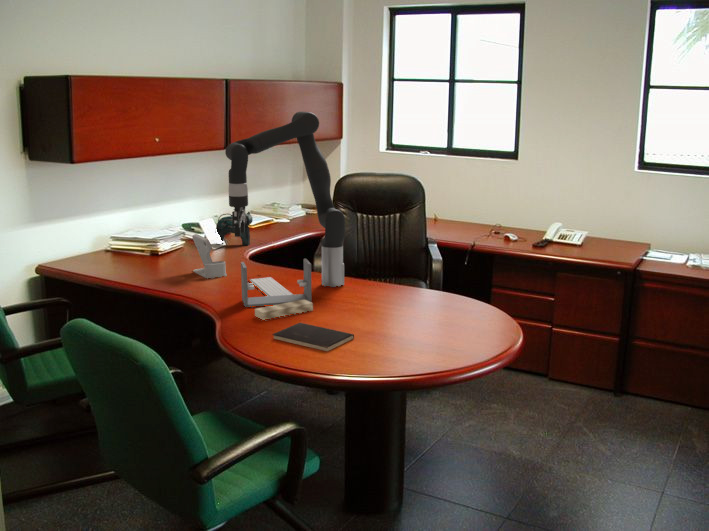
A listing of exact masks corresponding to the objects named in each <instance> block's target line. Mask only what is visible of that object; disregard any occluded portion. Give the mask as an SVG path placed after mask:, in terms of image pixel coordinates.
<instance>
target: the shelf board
mask: <svg viewBox="0 0 709 531" xmlns="http://www.w3.org/2000/svg"><path fill="white" fill-rule="evenodd" d="M307 311H309V312H313V311H314V303H313V302H310V301H307V300H305V299H304V300H299V301H294V302H288V303H283V304H278V305H273V306H265V307H256V308H254V317H255V316H256V317H258V318H260V319H262V320H265V319H270V320H272V319H271V318H274V319H276V318H275V317H279V318H281V317H280V316H284V317H286V316H285V315H289V316H291V315H290V314H294V315H297V314H296V313H299V314H302V312H304V313H308V312H307ZM256 317H255V318H256ZM258 318H257V319H258ZM260 319H259V320H260ZM262 320H261V321H262ZM265 321H266V320H265Z"/></svg>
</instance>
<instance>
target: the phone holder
mask: <svg viewBox="0 0 709 531" xmlns="http://www.w3.org/2000/svg"><path fill="white" fill-rule="evenodd" d="M191 236H192V237H191V238H192V240H193V242H194V245H195V247H196V249H197V252H198V255H199V257H200V259H201V261H202V264H203V266H204V267H203V268H202V267H201V268H196V269H193V273H195V274H196V275H199V276H201V277H202V278H204V279H206V278H207V280H208V278H211V279H216V278H215V277H218V278H222V276H224V277H227V275H228V274H227V272H226V271H227V270H226V269H227V268H226V261H225V260H216V261H213V259H212V257H211V251H212V248H213V247H212V244H211V242H210V240H209V239H208V238H207V237H204V236H201V235H199V234H197V233H195V234H193V235H191Z"/></svg>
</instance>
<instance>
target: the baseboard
mask: <svg viewBox="0 0 709 531" xmlns="http://www.w3.org/2000/svg"><path fill="white" fill-rule="evenodd" d="M257 277H258V278H256V277H254V278H250V277H249V276H247V279H249V278H250V279H249V280H250V281H251V282H252V283H253V284H254V285H255V286H257V287H258V288H259V289H260V290H261V291H263V292H264V293H265V294H266V295H267V296H281V295H294V293H292V292H291V291H290V290H288V289H287V288H285V287H284V286H283V285H281V284H280V283H279V282H278V281H277V280H275V279H274V278H273V277H271V274H269V275H268V276H266V277H262V274H261V275H260V274H257ZM259 277H260V278H259Z"/></svg>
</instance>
